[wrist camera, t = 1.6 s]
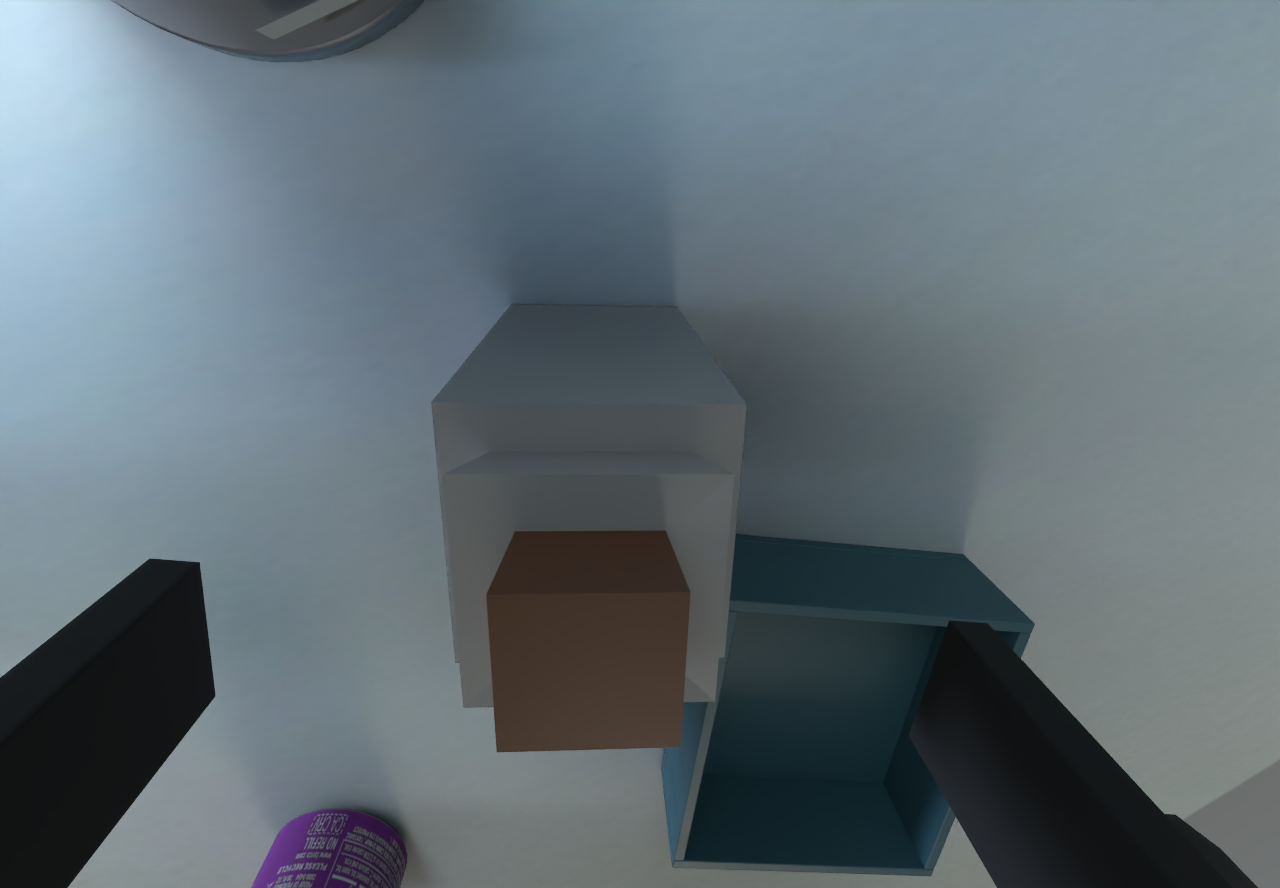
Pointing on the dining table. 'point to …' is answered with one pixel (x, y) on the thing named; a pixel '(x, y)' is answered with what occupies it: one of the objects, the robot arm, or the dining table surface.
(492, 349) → the perfume bottle
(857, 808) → the case
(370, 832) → the beverage can
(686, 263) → the dining table surface
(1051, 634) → the dining table surface
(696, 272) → the dining table surface
